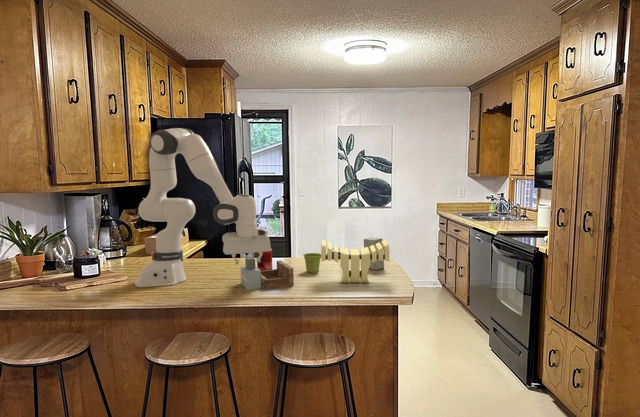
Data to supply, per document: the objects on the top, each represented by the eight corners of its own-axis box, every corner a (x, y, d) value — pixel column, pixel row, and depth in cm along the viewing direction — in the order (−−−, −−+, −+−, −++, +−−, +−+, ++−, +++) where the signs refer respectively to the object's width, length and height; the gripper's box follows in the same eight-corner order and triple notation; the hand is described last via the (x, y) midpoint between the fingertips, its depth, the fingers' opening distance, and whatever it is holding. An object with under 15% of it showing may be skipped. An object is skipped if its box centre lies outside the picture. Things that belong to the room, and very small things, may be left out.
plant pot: (315, 268, 213) (315, 252, 212) (325, 272, 205) (325, 255, 204) (300, 271, 208) (299, 254, 207) (309, 274, 200) (309, 257, 199)
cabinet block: (247, 290, 174) (246, 261, 173) (240, 283, 185) (240, 256, 184) (261, 288, 177) (260, 260, 176) (254, 282, 188) (253, 255, 187)
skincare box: (384, 268, 210) (384, 238, 208) (374, 270, 206) (374, 239, 204) (373, 265, 217) (373, 236, 215) (363, 267, 213) (363, 237, 211)
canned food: (273, 268, 214) (273, 247, 213) (270, 272, 206) (269, 250, 205) (259, 268, 215) (259, 247, 214) (255, 272, 207) (255, 250, 206)
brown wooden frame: (255, 279, 191) (254, 263, 190) (280, 276, 196) (280, 260, 195) (266, 289, 175) (265, 271, 174) (293, 285, 180) (293, 268, 179)
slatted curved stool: (321, 284, 181) (321, 245, 180) (323, 275, 197) (322, 239, 196) (389, 284, 180) (389, 244, 178) (385, 275, 196) (385, 239, 194)
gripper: (223, 233, 170) (224, 266, 171) (271, 231, 177) (271, 262, 178) (221, 232, 176) (222, 263, 177) (267, 229, 183) (268, 259, 184)
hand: (247, 263), depth 178 cm, fingers open, 8 cm apart
